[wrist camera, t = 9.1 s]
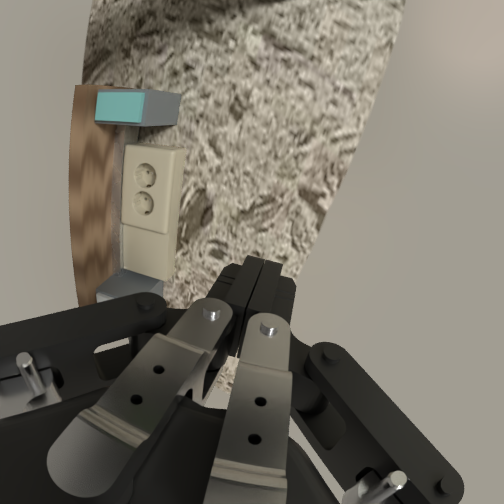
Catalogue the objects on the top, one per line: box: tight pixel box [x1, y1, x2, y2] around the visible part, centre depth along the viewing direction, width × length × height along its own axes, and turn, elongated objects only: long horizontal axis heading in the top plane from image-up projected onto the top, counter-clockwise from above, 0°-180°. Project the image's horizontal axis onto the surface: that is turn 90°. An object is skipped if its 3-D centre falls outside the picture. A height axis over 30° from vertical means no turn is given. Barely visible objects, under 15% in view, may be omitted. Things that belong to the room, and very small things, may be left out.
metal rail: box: [111, 124, 140, 277], centre depth 40 cm, size 22×2×4 cm, turn 170°
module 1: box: [95, 89, 181, 126], centre depth 31 cm, size 4×7×9 cm, turn 80°
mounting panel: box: [69, 84, 133, 307], centre depth 37 cm, size 31×2×10 cm, turn 170°
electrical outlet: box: [121, 142, 186, 281], centre depth 40 cm, size 7×4×18 cm
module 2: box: [96, 270, 163, 303], centre depth 42 cm, size 4×7×9 cm, turn 80°
